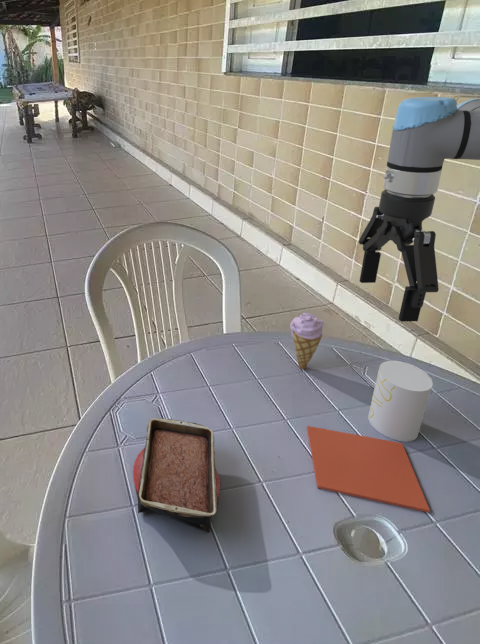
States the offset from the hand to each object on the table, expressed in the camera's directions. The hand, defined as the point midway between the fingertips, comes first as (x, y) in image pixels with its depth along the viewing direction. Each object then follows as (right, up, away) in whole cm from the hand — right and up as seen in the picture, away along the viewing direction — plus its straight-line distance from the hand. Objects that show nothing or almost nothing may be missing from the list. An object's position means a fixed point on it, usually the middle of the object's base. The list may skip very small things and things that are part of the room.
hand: (386, 299), depth 80 cm
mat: (-8, -29, -5) cm, 30 cm away
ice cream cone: (-7, -20, +20) cm, 29 cm away
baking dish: (-41, -32, -7) cm, 52 cm away
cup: (+4, -25, +3) cm, 26 cm away
